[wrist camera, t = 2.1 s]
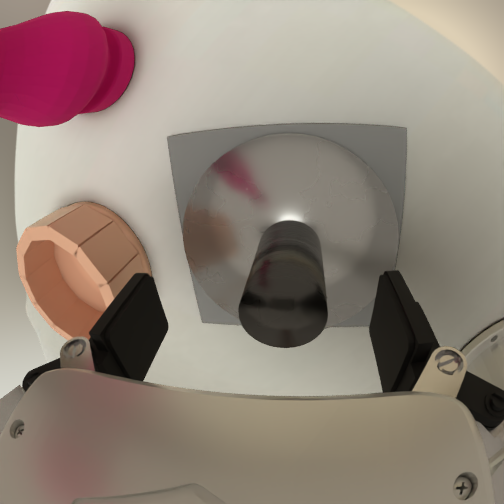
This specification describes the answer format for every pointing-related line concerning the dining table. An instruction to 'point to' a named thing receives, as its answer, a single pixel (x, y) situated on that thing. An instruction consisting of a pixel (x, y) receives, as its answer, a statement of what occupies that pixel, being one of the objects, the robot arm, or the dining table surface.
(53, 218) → the bowl
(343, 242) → the lid
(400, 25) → the dining table surface
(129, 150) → the dining table surface
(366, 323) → the mat
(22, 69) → the pepper mill
